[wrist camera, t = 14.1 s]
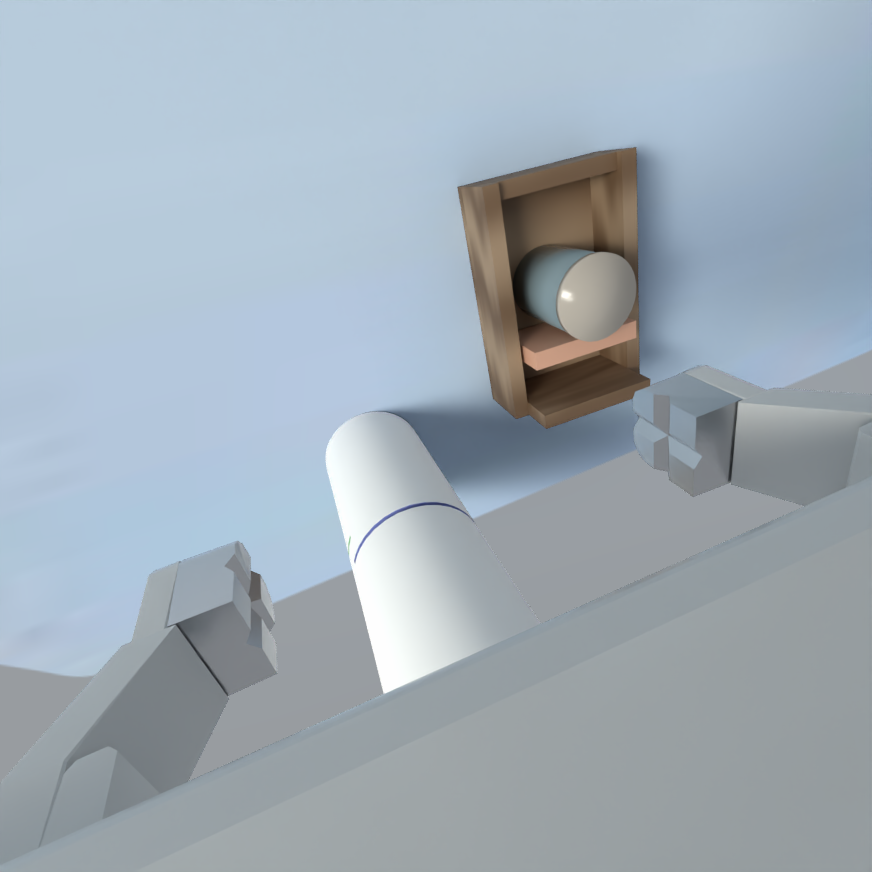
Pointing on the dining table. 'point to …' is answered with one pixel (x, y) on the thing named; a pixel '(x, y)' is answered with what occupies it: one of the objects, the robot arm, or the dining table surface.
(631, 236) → the brown wooden open box
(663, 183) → the dining table surface
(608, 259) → the jar
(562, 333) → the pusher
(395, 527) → the cylindrical container
